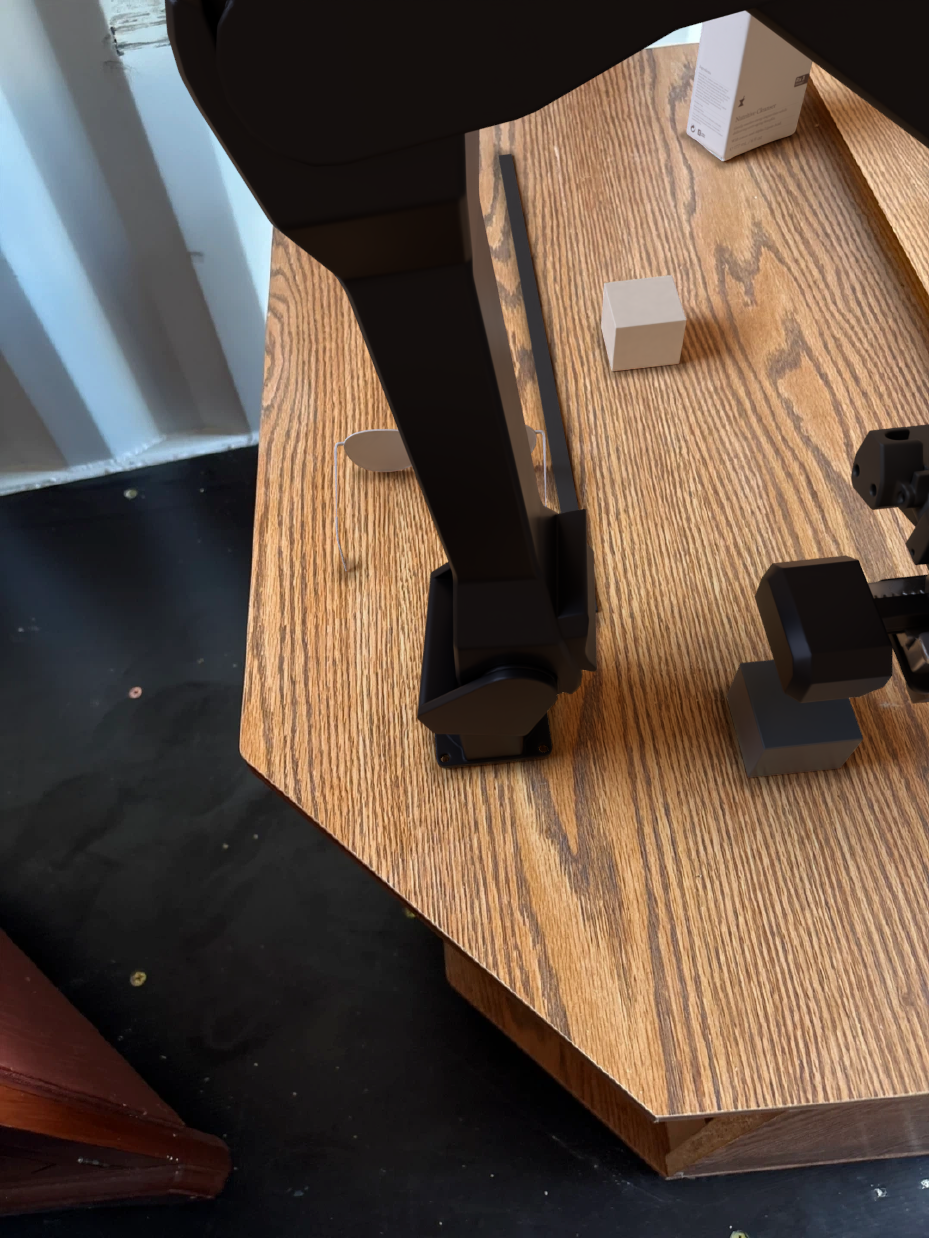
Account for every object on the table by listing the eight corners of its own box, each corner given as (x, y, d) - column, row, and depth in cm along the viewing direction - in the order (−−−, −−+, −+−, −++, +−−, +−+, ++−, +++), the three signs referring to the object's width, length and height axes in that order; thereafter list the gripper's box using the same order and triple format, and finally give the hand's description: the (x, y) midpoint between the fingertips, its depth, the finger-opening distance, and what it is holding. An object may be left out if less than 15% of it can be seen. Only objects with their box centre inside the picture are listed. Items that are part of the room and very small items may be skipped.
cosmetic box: (722, 164, 75) (758, -33, 63) (682, 134, 78) (708, -61, 66) (799, 133, 77) (849, -66, 64) (756, 104, 80) (796, -91, 67)
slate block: (840, 768, 46) (864, 739, 42) (747, 778, 46) (764, 749, 43) (813, 686, 49) (833, 652, 45) (725, 695, 49) (739, 662, 45)
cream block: (679, 364, 63) (687, 319, 59) (611, 372, 63) (615, 328, 60) (665, 319, 65) (672, 274, 62) (600, 327, 66) (603, 282, 62)
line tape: (597, 611, 52) (597, 610, 52) (578, 613, 52) (578, 612, 52) (511, 155, 79) (511, 153, 78) (498, 157, 79) (498, 155, 78)
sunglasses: (544, 461, 59) (545, 418, 54) (551, 571, 56) (552, 535, 51) (346, 472, 60) (330, 431, 55) (341, 581, 57) (324, 547, 52)
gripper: (1214, 329, 35) (1030, 551, 48) (762, 379, 36) (702, 585, 49) (1389, 544, 29) (1125, 730, 43) (845, 602, 30) (751, 767, 43)
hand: (915, 694), depth 44 cm, fingers closed
